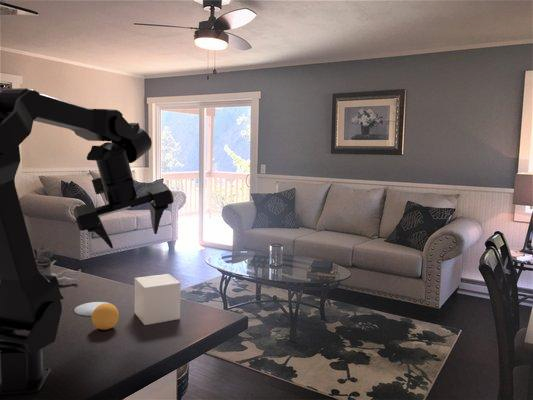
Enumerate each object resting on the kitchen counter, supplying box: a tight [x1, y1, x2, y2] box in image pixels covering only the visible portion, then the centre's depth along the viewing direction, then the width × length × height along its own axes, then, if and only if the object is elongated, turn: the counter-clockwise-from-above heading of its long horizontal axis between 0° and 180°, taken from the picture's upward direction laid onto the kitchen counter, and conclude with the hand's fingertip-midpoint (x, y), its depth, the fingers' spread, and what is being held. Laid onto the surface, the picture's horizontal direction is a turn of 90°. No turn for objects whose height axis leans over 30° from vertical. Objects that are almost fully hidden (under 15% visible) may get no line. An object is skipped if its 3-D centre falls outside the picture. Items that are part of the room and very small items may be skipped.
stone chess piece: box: [36, 243, 57, 278], centre depth 105 cm, size 6×6×12 cm
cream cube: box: [134, 273, 181, 326], centre depth 92 cm, size 8×8×8 cm
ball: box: [91, 302, 120, 331], centre depth 85 cm, size 5×5×5 cm
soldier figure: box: [51, 260, 82, 284], centre depth 111 cm, size 8×5×12 cm
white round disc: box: [73, 301, 111, 317], centre depth 96 cm, size 8×8×1 cm
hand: (134, 240), depth 92 cm, fingers open, 9 cm apart
